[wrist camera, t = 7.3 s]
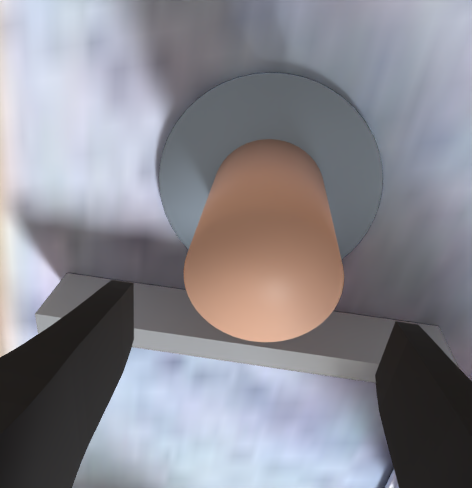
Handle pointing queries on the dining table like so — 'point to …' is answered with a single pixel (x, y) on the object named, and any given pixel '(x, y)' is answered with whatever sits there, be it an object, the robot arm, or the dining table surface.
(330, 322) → the grey long flat bar
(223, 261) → the terracotta cylinder
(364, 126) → the mat
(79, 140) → the dining table surface
